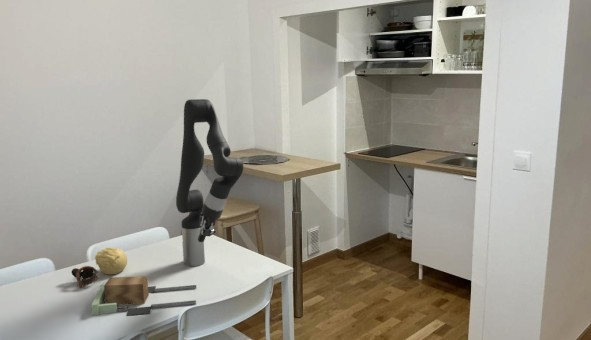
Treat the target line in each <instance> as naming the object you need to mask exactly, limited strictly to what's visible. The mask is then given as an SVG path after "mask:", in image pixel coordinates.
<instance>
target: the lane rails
mask: <svg viewBox="0 0 591 340" xmlns="http://www.w3.org/2000/svg"><path fill="white" fill-rule="evenodd" d="M195 289H197V284H193V285H182V286H181V285H180V286H171V287H159V288H155V290H154V291H155V292H154V293H162V292H173V291H183V290H195ZM192 304H194V305H196V304H197V300H184V301H176V302H173V301H172V302H164V303H154V304H150V306H151V310H152V309H162V308H170V307H172V308H173V307H181V306H192ZM128 309H129V306H122V307H121V306H120V307H117V309H116V310H117V312H116V313H118V312H119V313H120V312H121V313H122V312H128Z"/></svg>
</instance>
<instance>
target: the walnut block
mask: <svg viewBox="0 0 591 340" xmlns="http://www.w3.org/2000/svg"><path fill="white" fill-rule="evenodd" d="M148 280H149V279H148V275H144V276H142V275H141V276H140V275H139V276H117V277H116V276H115V277H114V276H112V277H109V278H108V279H107V281H106V282H105V284H103V285H104V290H105V304H109V303H117V306H119V305H121V306H122V305H124V306H125V305H144V304H146V301H147V299H148V298H149V295H150V293H149V291H148V287H149V282H148Z"/></svg>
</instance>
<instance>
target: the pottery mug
mask: <svg viewBox="0 0 591 340" xmlns="http://www.w3.org/2000/svg"><path fill="white" fill-rule="evenodd" d="M98 273H99V270H97V269H96V268H95V267H94V266H91V265H85V266H81V267H80V268H75V267H74V268H73V269H72V270H71V275H72V276H73V277H74V278H75V279H76V282H77V287H78V288H80V289H82V288H83V287H85V286H89V285H91V284H93V282H95V281H96V280H97V279H99V276H98Z"/></svg>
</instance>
